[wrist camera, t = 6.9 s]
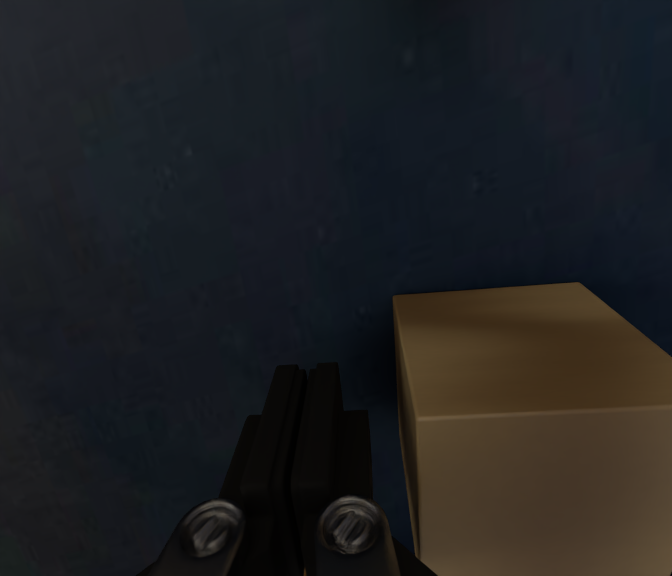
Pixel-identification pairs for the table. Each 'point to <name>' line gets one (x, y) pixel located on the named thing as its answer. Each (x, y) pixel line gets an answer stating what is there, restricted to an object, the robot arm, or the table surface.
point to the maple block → (533, 434)
